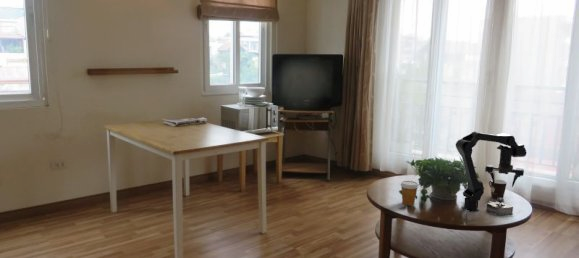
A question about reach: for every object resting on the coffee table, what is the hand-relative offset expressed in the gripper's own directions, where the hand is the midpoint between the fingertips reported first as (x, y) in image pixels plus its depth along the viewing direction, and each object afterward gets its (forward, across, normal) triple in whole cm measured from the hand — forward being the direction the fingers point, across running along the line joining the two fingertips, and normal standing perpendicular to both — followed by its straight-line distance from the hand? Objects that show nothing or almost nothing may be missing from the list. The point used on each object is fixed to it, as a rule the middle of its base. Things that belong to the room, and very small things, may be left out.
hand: (503, 185), depth 257 cm
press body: (+13, -1, -7) cm, 15 cm away
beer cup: (+12, -46, -21) cm, 52 cm away
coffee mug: (+13, -4, +20) cm, 24 cm away
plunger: (+12, 0, -8) cm, 15 cm away
